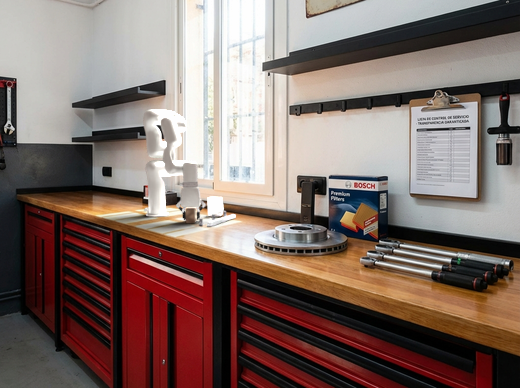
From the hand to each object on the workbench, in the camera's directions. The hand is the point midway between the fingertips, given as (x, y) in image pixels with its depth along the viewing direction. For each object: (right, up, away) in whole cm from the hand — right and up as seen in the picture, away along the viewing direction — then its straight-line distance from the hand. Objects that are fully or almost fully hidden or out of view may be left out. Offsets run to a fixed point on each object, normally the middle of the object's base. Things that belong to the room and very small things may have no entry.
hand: (191, 219), depth 214 cm
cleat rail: (+16, -1, -2) cm, 17 cm away
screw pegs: (+12, -1, 0) cm, 12 cm away
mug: (+12, +1, +18) cm, 21 cm away
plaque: (0, -1, 0) cm, 1 cm away
